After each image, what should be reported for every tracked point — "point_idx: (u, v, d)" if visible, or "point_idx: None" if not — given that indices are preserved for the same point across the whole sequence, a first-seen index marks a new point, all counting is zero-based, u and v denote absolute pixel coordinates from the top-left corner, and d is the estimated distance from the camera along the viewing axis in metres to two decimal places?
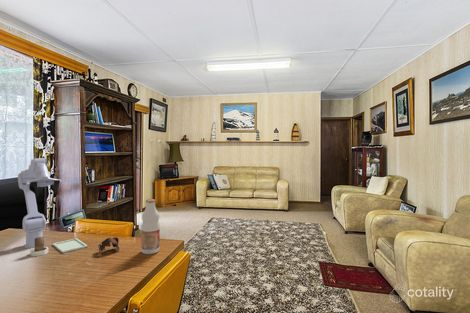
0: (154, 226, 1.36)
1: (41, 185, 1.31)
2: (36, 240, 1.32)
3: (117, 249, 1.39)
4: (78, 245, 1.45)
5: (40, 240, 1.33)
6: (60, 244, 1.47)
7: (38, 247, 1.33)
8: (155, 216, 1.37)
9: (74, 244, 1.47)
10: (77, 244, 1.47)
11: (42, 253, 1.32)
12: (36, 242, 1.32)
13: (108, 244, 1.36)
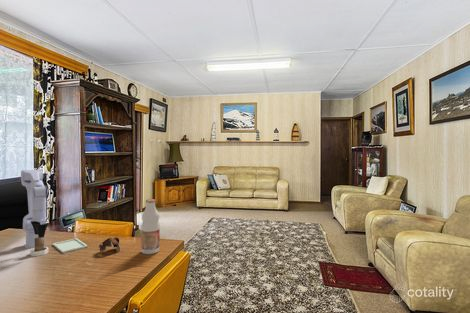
0: (154, 226, 1.36)
1: None
2: (36, 240, 1.32)
3: (118, 249, 1.38)
4: (78, 245, 1.45)
5: (40, 240, 1.33)
6: (60, 244, 1.47)
7: (38, 247, 1.33)
8: (155, 216, 1.37)
9: (74, 244, 1.47)
10: (77, 244, 1.47)
11: (42, 253, 1.32)
12: (36, 242, 1.32)
13: (109, 244, 1.35)
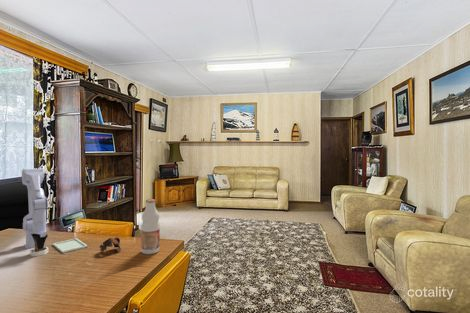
0: (154, 226, 1.36)
1: None
2: None
3: (119, 249, 1.38)
4: (78, 245, 1.45)
5: None
6: (60, 244, 1.47)
7: None
8: (155, 216, 1.37)
9: (74, 244, 1.47)
10: (77, 244, 1.47)
11: (42, 253, 1.32)
12: None
13: (110, 244, 1.35)
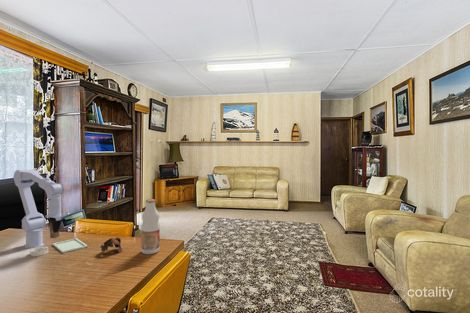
0: (154, 226, 1.36)
1: None
2: (51, 224, 1.37)
3: (120, 250, 1.38)
4: (78, 245, 1.45)
5: None
6: (60, 244, 1.47)
7: None
8: (155, 216, 1.37)
9: (74, 244, 1.47)
10: (77, 244, 1.47)
11: (42, 253, 1.32)
12: (51, 226, 1.37)
13: (111, 245, 1.35)
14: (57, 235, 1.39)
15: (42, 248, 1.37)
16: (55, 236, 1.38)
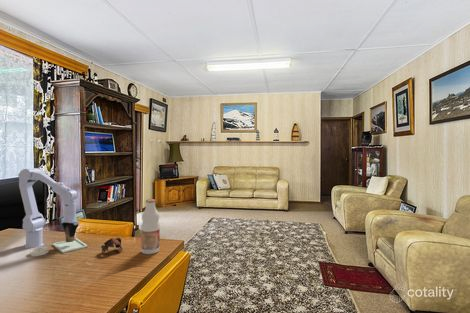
0: (154, 226, 1.36)
1: None
2: None
3: (120, 250, 1.38)
4: (78, 245, 1.45)
5: None
6: (60, 244, 1.47)
7: None
8: (155, 216, 1.37)
9: (74, 244, 1.47)
10: (77, 244, 1.47)
11: (42, 253, 1.32)
12: (68, 230, 1.43)
13: (111, 245, 1.35)
14: (73, 239, 1.45)
15: (42, 248, 1.37)
16: (71, 240, 1.44)
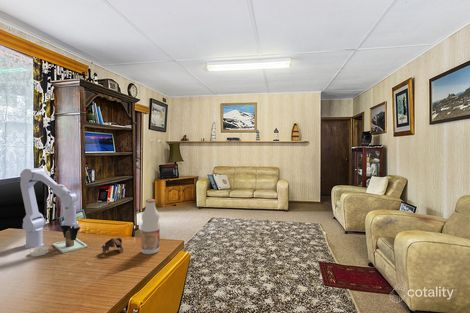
0: (154, 226, 1.36)
1: None
2: (68, 233, 1.43)
3: (121, 250, 1.38)
4: (78, 245, 1.45)
5: None
6: (60, 244, 1.47)
7: (70, 240, 1.43)
8: (155, 216, 1.37)
9: (74, 244, 1.47)
10: (77, 244, 1.47)
11: (42, 253, 1.32)
12: (68, 235, 1.43)
13: (112, 245, 1.35)
14: (73, 244, 1.45)
15: (42, 248, 1.37)
16: (71, 245, 1.44)
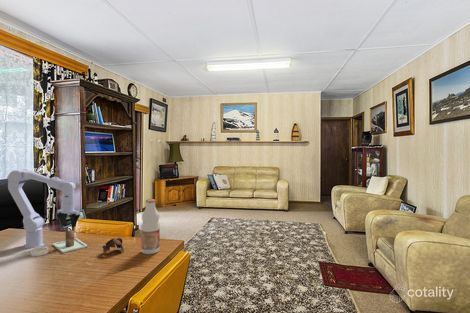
0: (154, 226, 1.36)
1: None
2: (68, 233, 1.43)
3: (122, 250, 1.37)
4: (78, 245, 1.45)
5: (71, 233, 1.44)
6: (60, 244, 1.47)
7: (70, 240, 1.43)
8: (155, 216, 1.37)
9: (74, 244, 1.47)
10: (77, 244, 1.47)
11: (42, 253, 1.32)
12: (68, 235, 1.43)
13: (113, 245, 1.34)
14: (73, 244, 1.45)
15: (42, 248, 1.37)
16: (71, 245, 1.44)
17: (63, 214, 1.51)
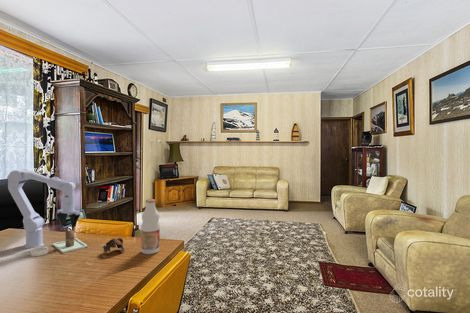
0: (154, 226, 1.36)
1: None
2: (68, 233, 1.43)
3: (122, 250, 1.37)
4: (78, 245, 1.45)
5: (71, 233, 1.44)
6: (60, 244, 1.47)
7: (70, 240, 1.43)
8: (155, 216, 1.37)
9: (74, 244, 1.47)
10: (77, 244, 1.47)
11: (42, 253, 1.32)
12: (68, 235, 1.43)
13: (113, 245, 1.34)
14: (73, 244, 1.45)
15: (42, 248, 1.37)
16: (71, 245, 1.44)
17: (63, 214, 1.51)
